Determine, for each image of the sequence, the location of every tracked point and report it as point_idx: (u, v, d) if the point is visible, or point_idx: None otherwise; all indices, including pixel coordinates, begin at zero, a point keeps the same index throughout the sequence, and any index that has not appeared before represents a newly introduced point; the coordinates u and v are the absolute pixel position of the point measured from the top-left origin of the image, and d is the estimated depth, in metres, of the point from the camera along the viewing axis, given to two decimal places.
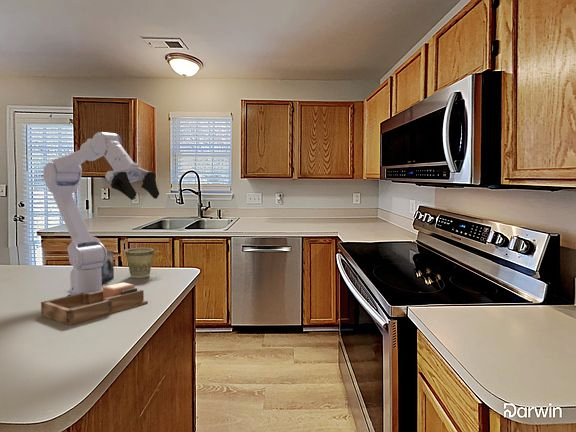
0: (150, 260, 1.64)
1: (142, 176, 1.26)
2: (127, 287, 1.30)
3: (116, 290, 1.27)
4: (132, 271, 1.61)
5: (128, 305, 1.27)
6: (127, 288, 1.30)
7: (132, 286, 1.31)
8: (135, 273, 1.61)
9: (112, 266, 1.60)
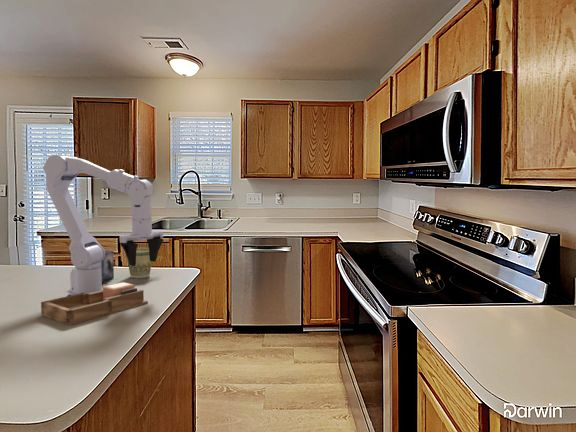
0: None
1: (152, 237, 1.38)
2: (127, 287, 1.30)
3: (116, 290, 1.27)
4: (132, 271, 1.61)
5: (128, 305, 1.27)
6: (127, 288, 1.30)
7: (132, 286, 1.31)
8: (135, 273, 1.61)
9: (112, 266, 1.60)
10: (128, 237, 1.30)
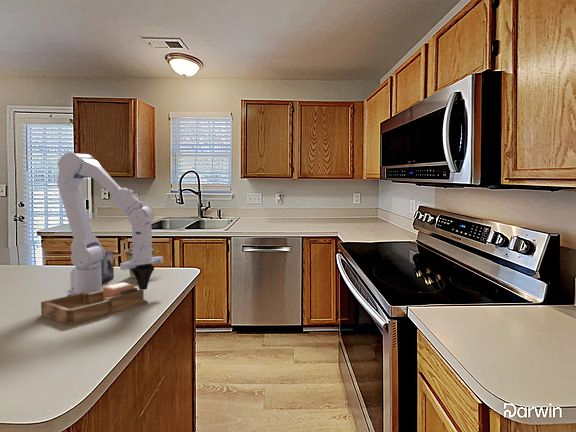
0: None
1: (152, 262, 1.39)
2: (127, 287, 1.30)
3: (116, 290, 1.27)
4: None
5: (128, 305, 1.27)
6: (127, 288, 1.30)
7: (132, 286, 1.31)
8: None
9: (112, 266, 1.60)
10: (128, 264, 1.31)
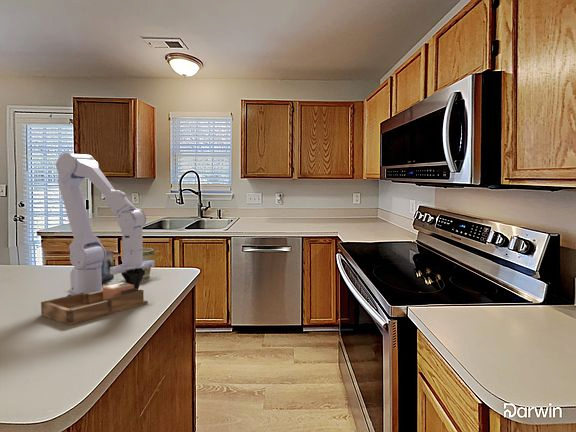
0: None
1: (143, 267, 1.37)
2: (127, 287, 1.30)
3: (116, 290, 1.27)
4: None
5: (128, 305, 1.27)
6: (126, 288, 1.30)
7: (132, 286, 1.31)
8: None
9: (112, 266, 1.60)
10: (118, 269, 1.28)
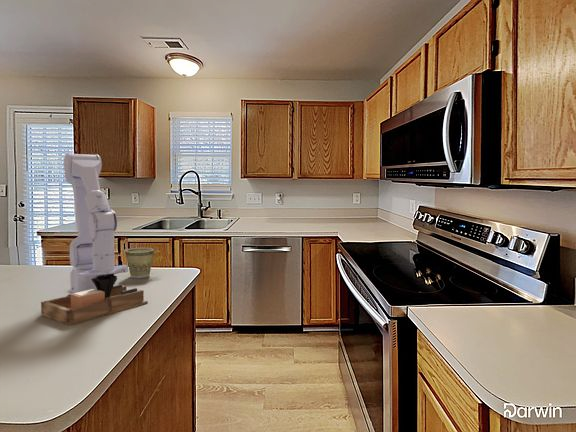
0: (150, 260, 1.64)
1: (115, 272, 1.29)
2: (97, 294, 1.22)
3: (84, 298, 1.19)
4: (132, 271, 1.61)
5: (128, 305, 1.27)
6: (96, 295, 1.22)
7: (102, 293, 1.23)
8: (135, 273, 1.61)
9: None
10: (87, 275, 1.20)
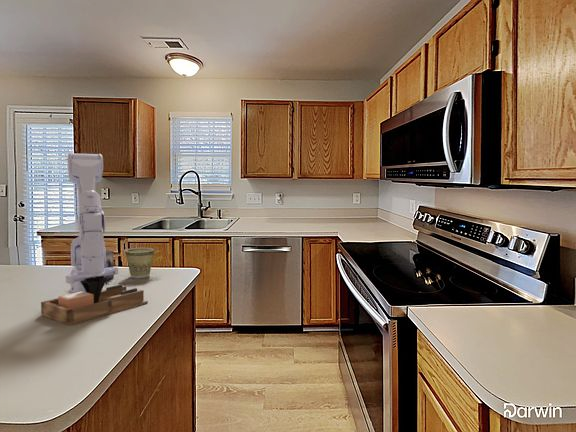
0: (150, 260, 1.64)
1: (104, 274, 1.26)
2: (85, 297, 1.19)
3: (72, 300, 1.16)
4: (132, 271, 1.61)
5: (128, 305, 1.27)
6: (85, 298, 1.19)
7: (91, 296, 1.20)
8: (135, 273, 1.61)
9: (112, 266, 1.60)
10: (75, 277, 1.18)
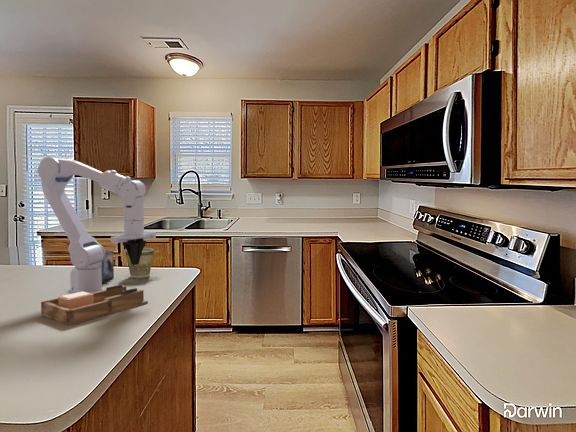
0: (150, 260, 1.64)
1: (144, 237, 1.38)
2: (85, 297, 1.19)
3: (72, 300, 1.16)
4: (132, 271, 1.61)
5: (128, 305, 1.27)
6: (85, 298, 1.19)
7: (91, 296, 1.20)
8: (135, 273, 1.61)
9: (112, 266, 1.60)
10: (119, 238, 1.30)
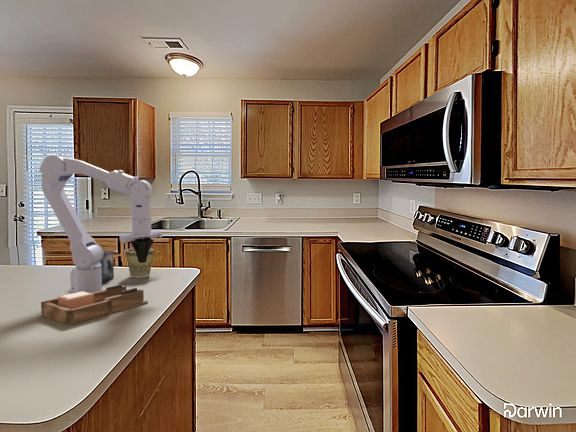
0: (150, 260, 1.64)
1: (151, 236, 1.41)
2: (85, 297, 1.19)
3: (72, 300, 1.16)
4: (132, 271, 1.61)
5: (128, 305, 1.27)
6: (85, 298, 1.19)
7: (91, 296, 1.20)
8: (135, 273, 1.61)
9: (112, 266, 1.60)
10: (128, 236, 1.33)
